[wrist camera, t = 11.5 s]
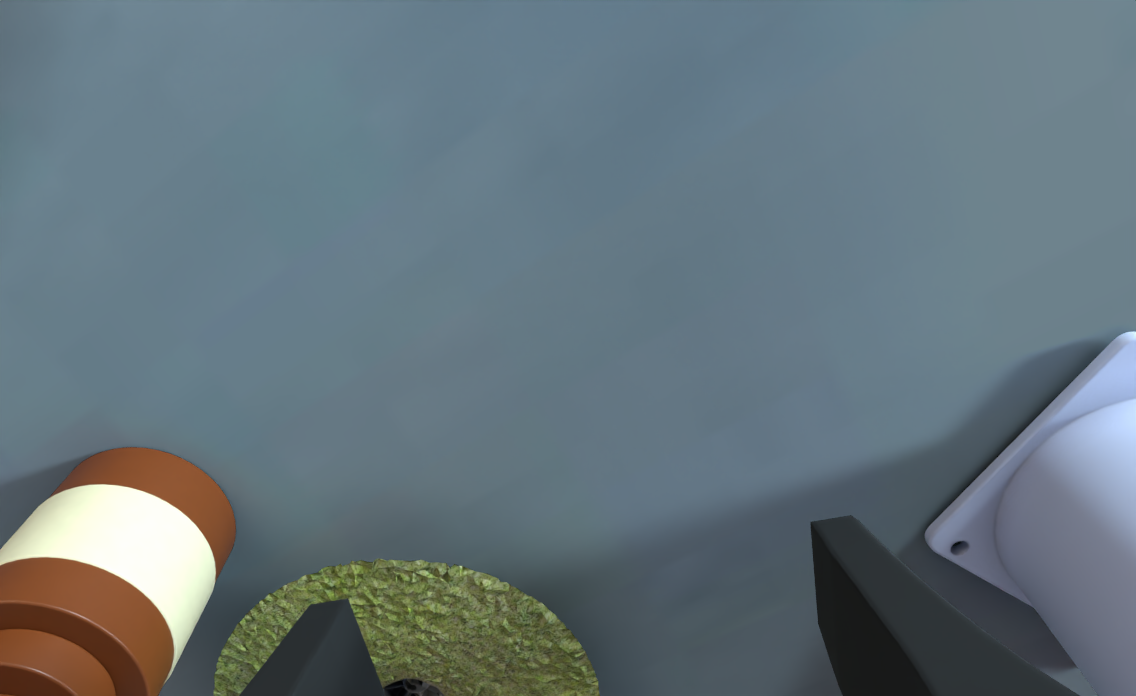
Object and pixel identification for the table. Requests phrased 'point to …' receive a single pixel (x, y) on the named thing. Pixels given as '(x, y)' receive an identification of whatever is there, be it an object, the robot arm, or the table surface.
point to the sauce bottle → (111, 576)
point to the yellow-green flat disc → (424, 632)
